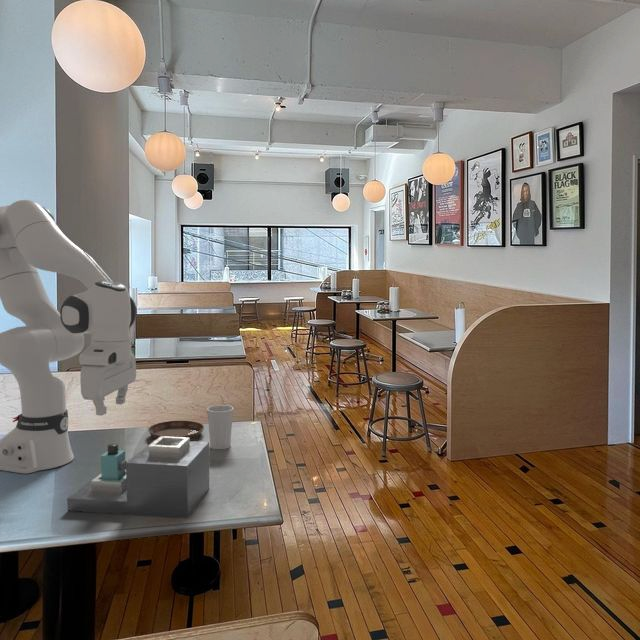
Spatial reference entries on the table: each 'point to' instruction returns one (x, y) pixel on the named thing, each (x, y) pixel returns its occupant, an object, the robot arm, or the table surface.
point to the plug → (113, 463)
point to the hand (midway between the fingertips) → (111, 409)
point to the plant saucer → (176, 429)
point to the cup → (220, 426)
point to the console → (152, 482)
